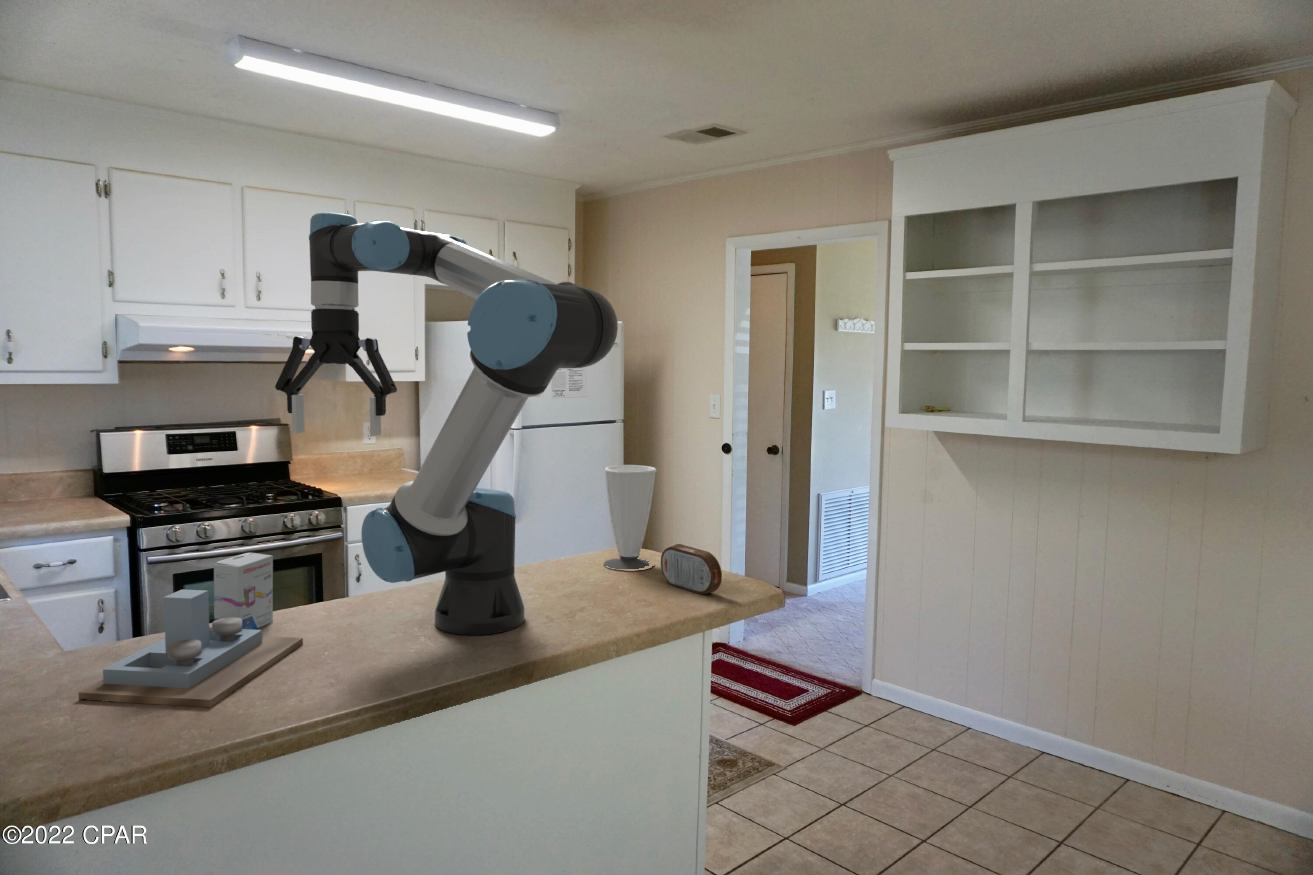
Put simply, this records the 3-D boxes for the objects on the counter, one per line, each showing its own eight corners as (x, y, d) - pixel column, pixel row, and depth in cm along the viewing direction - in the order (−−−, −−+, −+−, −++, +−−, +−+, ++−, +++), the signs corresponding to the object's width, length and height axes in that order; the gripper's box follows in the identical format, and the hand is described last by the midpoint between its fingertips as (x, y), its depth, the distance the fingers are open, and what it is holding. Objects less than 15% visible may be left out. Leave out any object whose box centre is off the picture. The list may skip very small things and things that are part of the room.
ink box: (240, 637, 135) (238, 565, 134) (213, 635, 136) (211, 562, 135) (275, 621, 143) (273, 553, 142) (249, 618, 144) (247, 550, 143)
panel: (262, 642, 130) (260, 578, 129) (189, 688, 112) (186, 614, 111) (187, 638, 131) (185, 575, 130) (103, 683, 113) (100, 610, 112)
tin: (722, 596, 164) (723, 553, 164) (711, 599, 162) (712, 556, 161) (668, 580, 175) (669, 540, 174) (657, 582, 173) (658, 542, 172)
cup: (661, 569, 183) (664, 471, 181) (610, 573, 179) (612, 472, 177) (645, 557, 194) (647, 464, 192) (597, 560, 190) (598, 465, 188)
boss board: (302, 643, 133) (302, 609, 132) (210, 707, 109) (209, 665, 108) (193, 638, 134) (192, 604, 133) (78, 699, 110) (76, 658, 110)
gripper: (415, 311, 145) (416, 434, 147) (275, 308, 147) (278, 429, 149) (398, 308, 138) (399, 438, 140) (251, 306, 139) (254, 433, 142)
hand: (337, 434), depth 144 cm, fingers open, 13 cm apart
